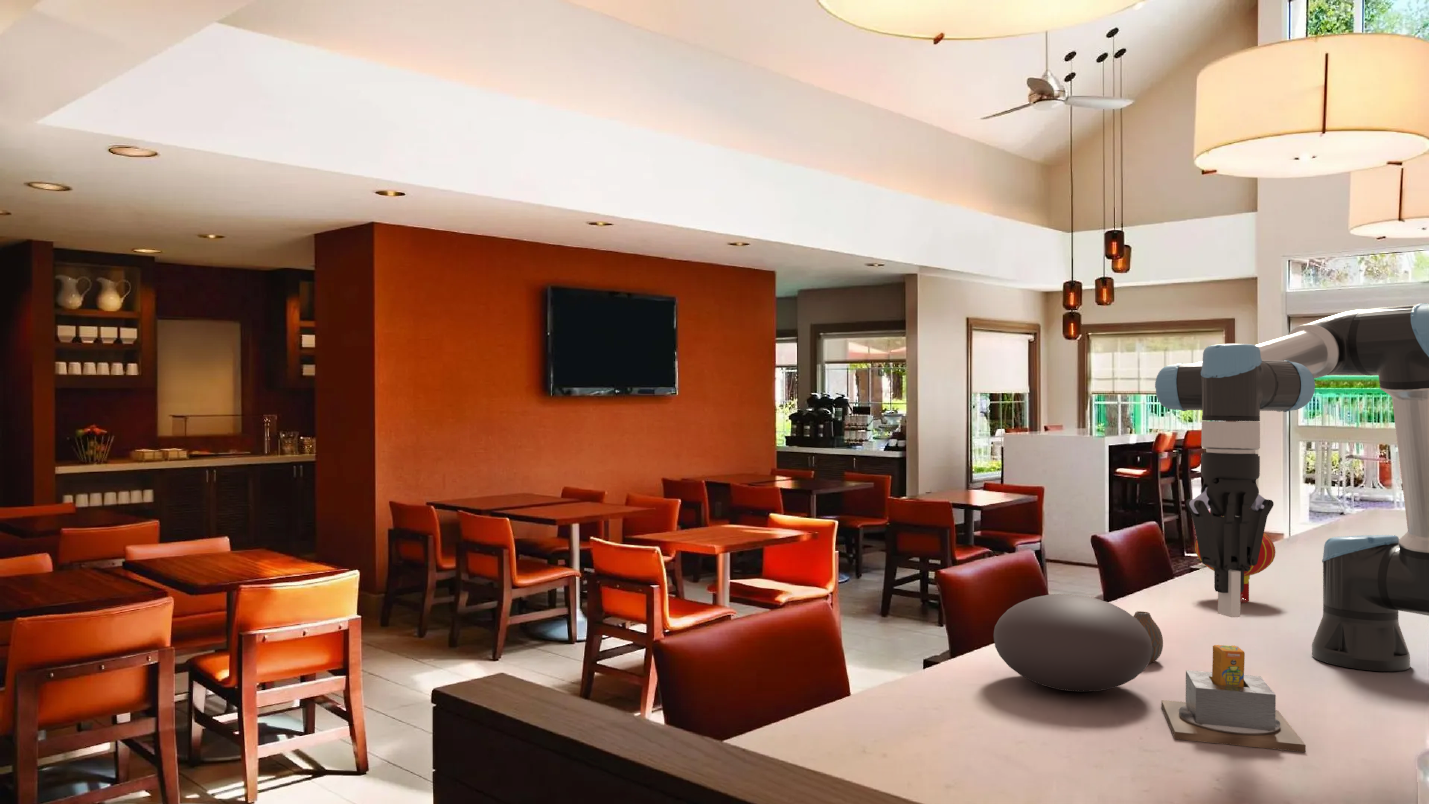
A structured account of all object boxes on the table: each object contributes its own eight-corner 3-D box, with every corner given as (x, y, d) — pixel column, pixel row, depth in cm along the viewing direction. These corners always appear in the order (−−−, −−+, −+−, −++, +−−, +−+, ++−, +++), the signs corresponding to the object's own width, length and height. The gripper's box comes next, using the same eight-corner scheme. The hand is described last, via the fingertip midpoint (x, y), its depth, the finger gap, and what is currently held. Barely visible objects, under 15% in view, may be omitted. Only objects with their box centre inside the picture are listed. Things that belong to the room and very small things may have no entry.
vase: (1167, 666, 178) (1167, 617, 178) (1126, 664, 180) (1126, 615, 180) (1158, 657, 185) (1158, 609, 185) (1118, 654, 187) (1118, 607, 187)
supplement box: (1220, 720, 142) (1220, 649, 142) (1210, 712, 146) (1210, 643, 146) (1244, 720, 142) (1245, 650, 142) (1234, 713, 145) (1234, 644, 145)
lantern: (1184, 592, 251) (1185, 473, 252) (1258, 595, 249) (1258, 474, 249) (1208, 605, 234) (1209, 478, 235) (1287, 608, 232) (1288, 479, 232)
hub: (1269, 712, 148) (1269, 674, 148) (1290, 740, 136) (1290, 698, 136) (1173, 703, 152) (1173, 666, 152) (1185, 729, 140) (1185, 689, 140)
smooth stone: (1145, 675, 172) (1146, 588, 173) (1159, 716, 149) (1159, 616, 149) (997, 661, 180) (998, 579, 181) (987, 699, 157) (988, 604, 157)
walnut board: (1278, 717, 149) (1278, 710, 149) (1305, 752, 134) (1305, 744, 134) (1161, 706, 154) (1161, 700, 154) (1174, 739, 139) (1174, 731, 139)
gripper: (1250, 450, 149) (1249, 608, 149) (1173, 450, 146) (1171, 611, 146) (1289, 452, 142) (1287, 619, 142) (1208, 452, 139) (1207, 622, 139)
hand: (1228, 615), depth 144 cm, fingers closed
